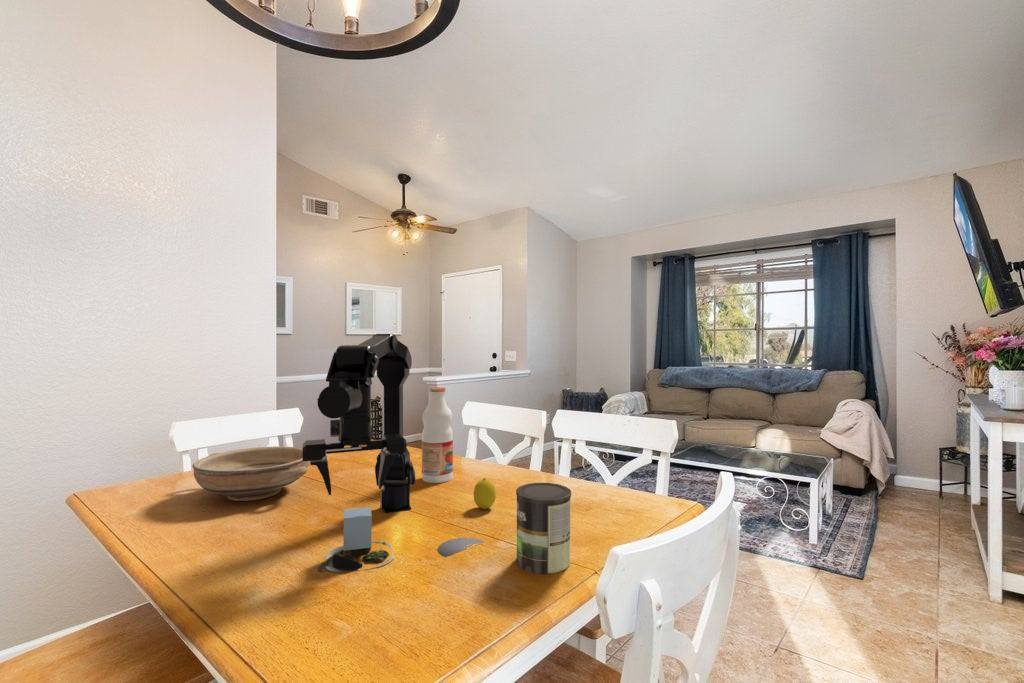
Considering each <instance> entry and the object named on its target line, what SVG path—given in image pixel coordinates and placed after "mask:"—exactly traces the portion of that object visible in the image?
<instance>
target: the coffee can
mask: <svg viewBox="0 0 1024 683" xmlns="http://www.w3.org/2000/svg"><path fill="white" fill-rule="evenodd" d="M515 494H516V565H517V566H518V567H519V568H520V569H521V570H523V571H525V570H526V571H525V572H527V571H528V573H530V572H532V573H531V574H535V573H536V574H537V573H538V574H537V575H553V574H552V573H555V574H558V573H557V572H559V573H562V572H564V571H565V570H567V569H568V568H570V566H571V505H572V504H571V499H572V498H571V497H572V490H571V489H570V488H569V487H567V486H565V485H563V484H558V483H552V482H531V483H526V484H523V485H521V486H519V487H517V488H516V489H515ZM563 570H564V571H563ZM561 571H562V572H561Z"/></svg>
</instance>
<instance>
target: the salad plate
mask: <svg viewBox="0 0 1024 683" xmlns="http://www.w3.org/2000/svg"><path fill="white" fill-rule="evenodd" d="M371 544H377V545H378V544H380V545H383V546H387V547H388V548H390V550H391V552H392V553H391V557H390V558H389V559H388V560H387V561H385V560H386V559H387V558H388V557H389V556H390V553H389V551H387V550H383V549H379V550H377V549H376V550H373V551H371V549H372V547H373V546H372V545H371V547H370V548H362V549H354V550H346V551H343V545H340V546H337V547H334V548H332V549H330V550H329V551H327V552H326V556H325V561H324V562H322V563H321V564H320V565H318V567H317V570H318V571H322V572H329V573H334V574H346V573H348V574H349V573H353V572H360V571H363V569H362V567H363V563H366V564H369V563H374V564H375V563H376V564H377V563H378V564H380V565H378V566H375V567H372V568H371V567H370V568H366V569H364V571H367V570H368V571H369V570H374V569H379V568H382V567H385V566H387V565H389V564H391V562H393V560H394V559H395V556H394V555H395V554H394V553H393V552H394V551H393V547H392V545H391V543H389V542H386V541H380V540H379V541H378V540H377V541H371ZM361 556H362V559H361V560H360V561H361V562H360V561H357V560H355V558H358V557H361ZM381 563H382V564H381Z"/></svg>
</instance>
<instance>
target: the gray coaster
mask: <svg viewBox="0 0 1024 683" xmlns="http://www.w3.org/2000/svg"><path fill="white" fill-rule="evenodd" d="M477 543H481V544H478V545H475V546H474V547H477V546H479V545H482V544H485V542H484V541H483V540H480V539H478V538H474V537H473V538H471V537H460V538H458V537H457V538H452V539H449V540H446V541H444V542H441V543H440V544H439V545H438V547H437V553H438V554H439V555H440V556H442V557H444V558H448V557H450V556H451V557H452V556H454V555H456V554H458V553H461V552H464V551H466V550H468V549H467V547H470V546H472V545H473V544H477ZM470 544H471V545H470ZM467 545H469V546H467ZM464 547H465V548H464ZM472 548H473V546H472ZM469 549H471V547H470V548H469Z"/></svg>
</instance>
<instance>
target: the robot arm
mask: <svg viewBox="0 0 1024 683" xmlns="http://www.w3.org/2000/svg"><path fill="white" fill-rule="evenodd" d="M397 337H398V336H397V335H396V334H393V333H376V334H373V335H372V337H370V338H368V339H367V340H364V341H363V342H361V343H359V344H349V345H348V344H347V345H346V344H345V345H344V344H343V345H339V346H338V347H337V348H336V350H335V351H334V352H333V355H332V358H331V361H330V365H329V368H328V371H327V375H326V377H325V382H327V383H328V386H327V387H324V388H323V389H322V390H321V392H320V393H319V395H318V398H317V408H318V410H319V411H320V413H321V414H322V415H323V416H324V417H326V418H328V419H330V422H329V423H330V424H329V428H330V429H329V435H330V436H329V437H330V438H335V437H338V442H335V443H334V442H333V443H326V439H325V438H323V439H311V440H305V441H304V442H303V443H302V449H303V461H310V462H309V464H310V466H316V467H317V469H318V471H319V474H320V475H321V477H322V480H323V482H324V484H325V488H326V491H327V493H328V495H329V496H331V495H332V484H331V477H330V469H329V464H328V456H327V455H328V454H330V455H331V454H340V453H352V452H366V451H374V450H380V452H379V453H378V454H377V456H376V462H375V465H374V474H375V481H376V482H375V483H376V486H377V487H378V489H379V491H380V492H379V494H380V495H379V505H380V508H381V509H382V511H383V513H384V514H390V513H391V514H393V513H397V512H405V511H406V512H407V511H411V510H412V507H411V503H410V500H411V498H410V496H411V494H410V493H411V490H410V489H411V488H410V487H411V486H413V485H416V480H417V478H416V471H415V467H414V465H413V462H412V461H411V454H410V451H409V450H408V448H407V447H408V446H407V439H406V438H405V437H404V394H403V393H404V384H405V383H406V381H407V379H408V378H409V376H410V370H411V368H412V365H413V364H412V362H413V361H412V354H411V351H410V350H409V347H408V346H407V345H405V344H404V343H402V342H401V341H400V340H398V338H397ZM375 374H376V377H377V378H378V380H379V381H380V383H381V385H382V386H383V434H382V435H381V436H382V438H381V439H372V421H371V420H372V395H371V394H372V387H371V385H373V381H372V378H374V377H375Z"/></svg>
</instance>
